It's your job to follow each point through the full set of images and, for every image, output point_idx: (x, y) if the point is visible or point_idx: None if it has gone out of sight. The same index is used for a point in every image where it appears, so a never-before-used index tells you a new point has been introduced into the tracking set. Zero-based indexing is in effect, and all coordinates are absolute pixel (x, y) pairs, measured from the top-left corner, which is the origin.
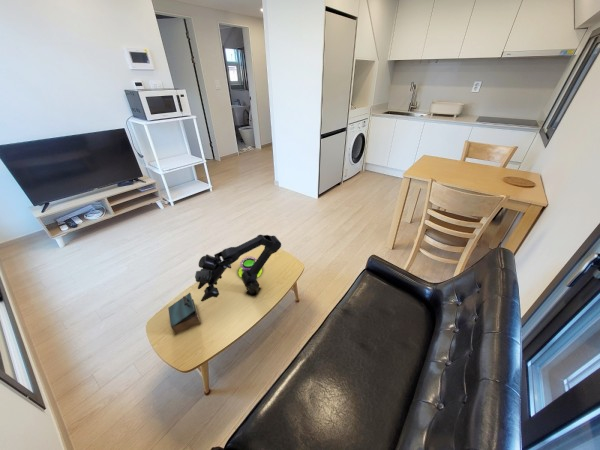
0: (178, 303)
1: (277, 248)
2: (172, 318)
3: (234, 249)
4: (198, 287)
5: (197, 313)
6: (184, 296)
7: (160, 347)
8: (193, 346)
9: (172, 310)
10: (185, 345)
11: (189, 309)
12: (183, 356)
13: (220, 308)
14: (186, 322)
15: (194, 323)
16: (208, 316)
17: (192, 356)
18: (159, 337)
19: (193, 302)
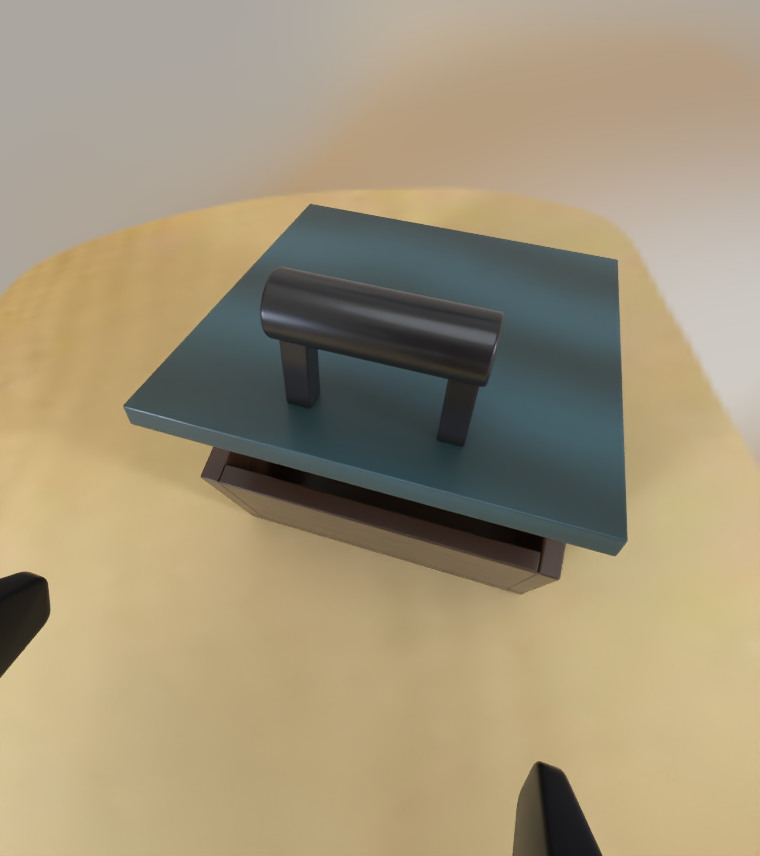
0: (557, 335)
1: None
2: (393, 235)
3: None
4: (539, 811)
5: (368, 544)
6: (483, 336)
7: (320, 200)
8: (107, 367)
9: (515, 266)
10: (173, 327)
11: (238, 371)
12: (107, 285)
13: (242, 837)
14: None
15: None
16: (265, 633)
17: (44, 329)
18: (414, 217)
19: (481, 551)
